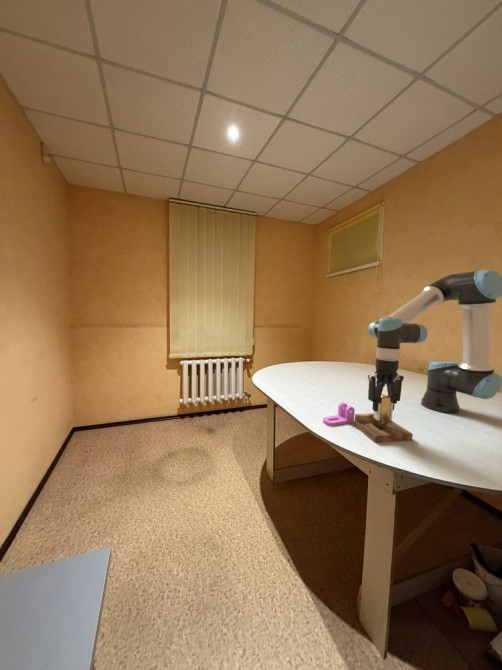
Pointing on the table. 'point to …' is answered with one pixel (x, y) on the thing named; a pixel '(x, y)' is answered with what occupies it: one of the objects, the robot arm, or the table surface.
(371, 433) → the frame
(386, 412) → the cylinder
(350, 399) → the table surface
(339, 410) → the bracket
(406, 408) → the table surface
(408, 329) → the robot arm
